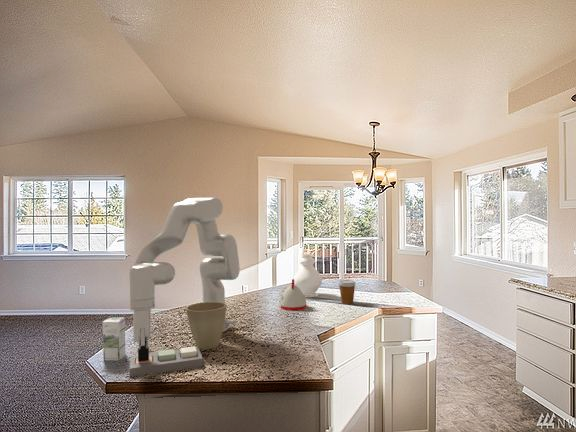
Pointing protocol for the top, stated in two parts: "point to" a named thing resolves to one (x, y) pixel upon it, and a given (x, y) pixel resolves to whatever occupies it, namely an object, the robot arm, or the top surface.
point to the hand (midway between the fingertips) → (143, 360)
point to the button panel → (165, 363)
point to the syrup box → (114, 338)
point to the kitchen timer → (293, 298)
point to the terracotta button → (144, 361)
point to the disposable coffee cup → (347, 291)
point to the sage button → (166, 355)
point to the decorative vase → (308, 277)
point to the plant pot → (206, 323)
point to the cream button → (188, 352)
